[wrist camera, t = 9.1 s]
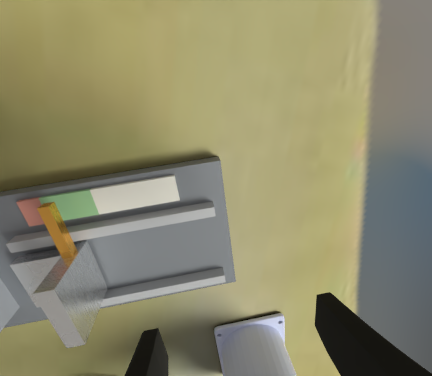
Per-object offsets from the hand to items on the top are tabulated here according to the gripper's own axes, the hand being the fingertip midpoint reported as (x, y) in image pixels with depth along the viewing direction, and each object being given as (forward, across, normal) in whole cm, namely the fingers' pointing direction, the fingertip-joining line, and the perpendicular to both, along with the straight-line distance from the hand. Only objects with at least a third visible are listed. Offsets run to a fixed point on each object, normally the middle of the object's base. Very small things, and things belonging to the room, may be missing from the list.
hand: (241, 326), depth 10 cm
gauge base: (+10, +10, +1) cm, 14 cm away
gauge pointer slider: (+9, +13, 0) cm, 16 cm away
